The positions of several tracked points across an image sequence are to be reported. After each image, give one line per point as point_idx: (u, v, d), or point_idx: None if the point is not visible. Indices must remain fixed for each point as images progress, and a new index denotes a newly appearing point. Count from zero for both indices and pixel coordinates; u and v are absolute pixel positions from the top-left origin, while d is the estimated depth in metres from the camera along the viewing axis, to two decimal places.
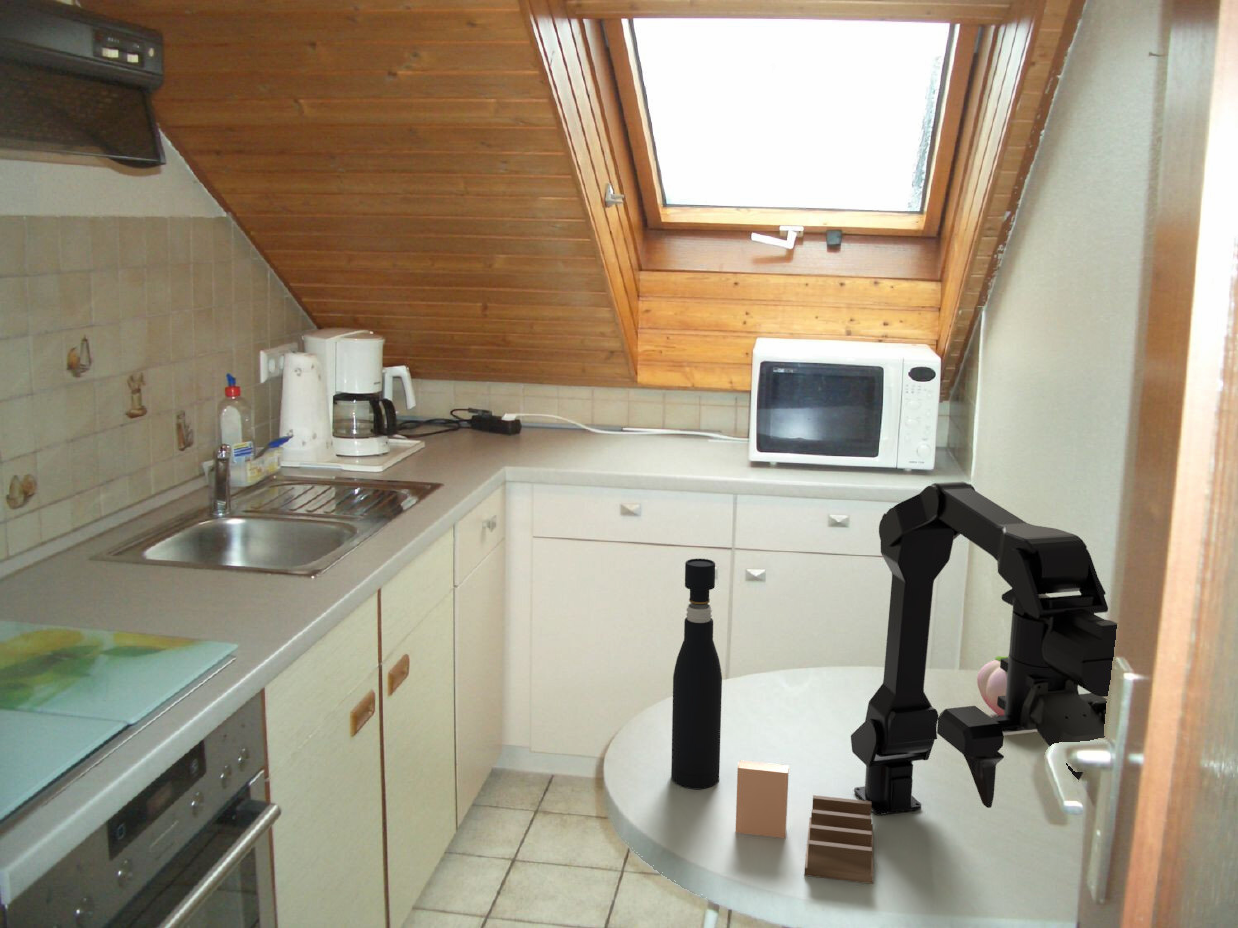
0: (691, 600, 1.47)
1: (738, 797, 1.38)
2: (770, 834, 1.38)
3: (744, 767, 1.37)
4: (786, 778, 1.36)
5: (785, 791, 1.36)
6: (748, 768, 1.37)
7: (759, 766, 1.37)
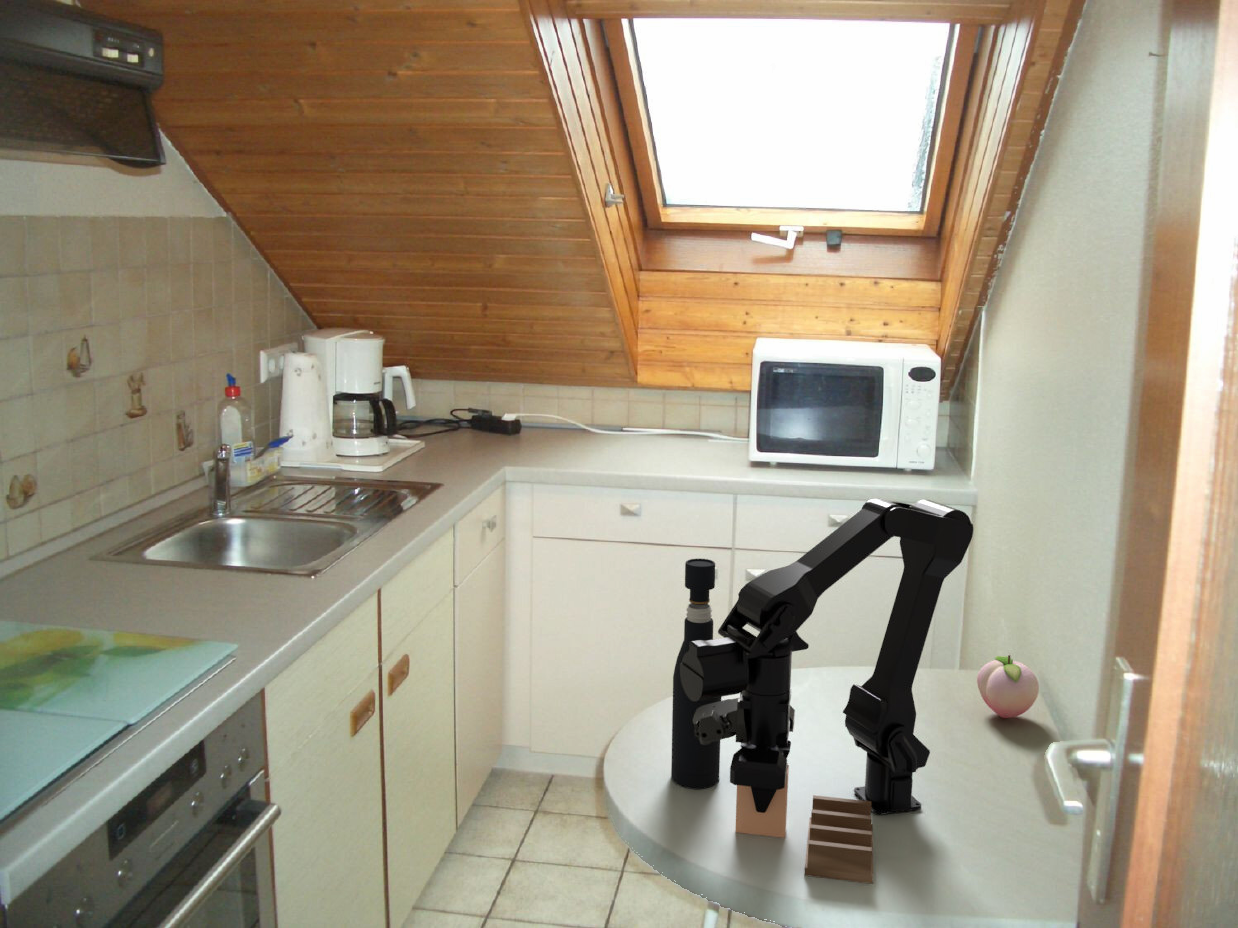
0: (691, 600, 1.47)
1: (738, 797, 1.38)
2: (770, 834, 1.38)
3: None
4: (786, 778, 1.36)
5: (785, 791, 1.36)
6: None
7: None
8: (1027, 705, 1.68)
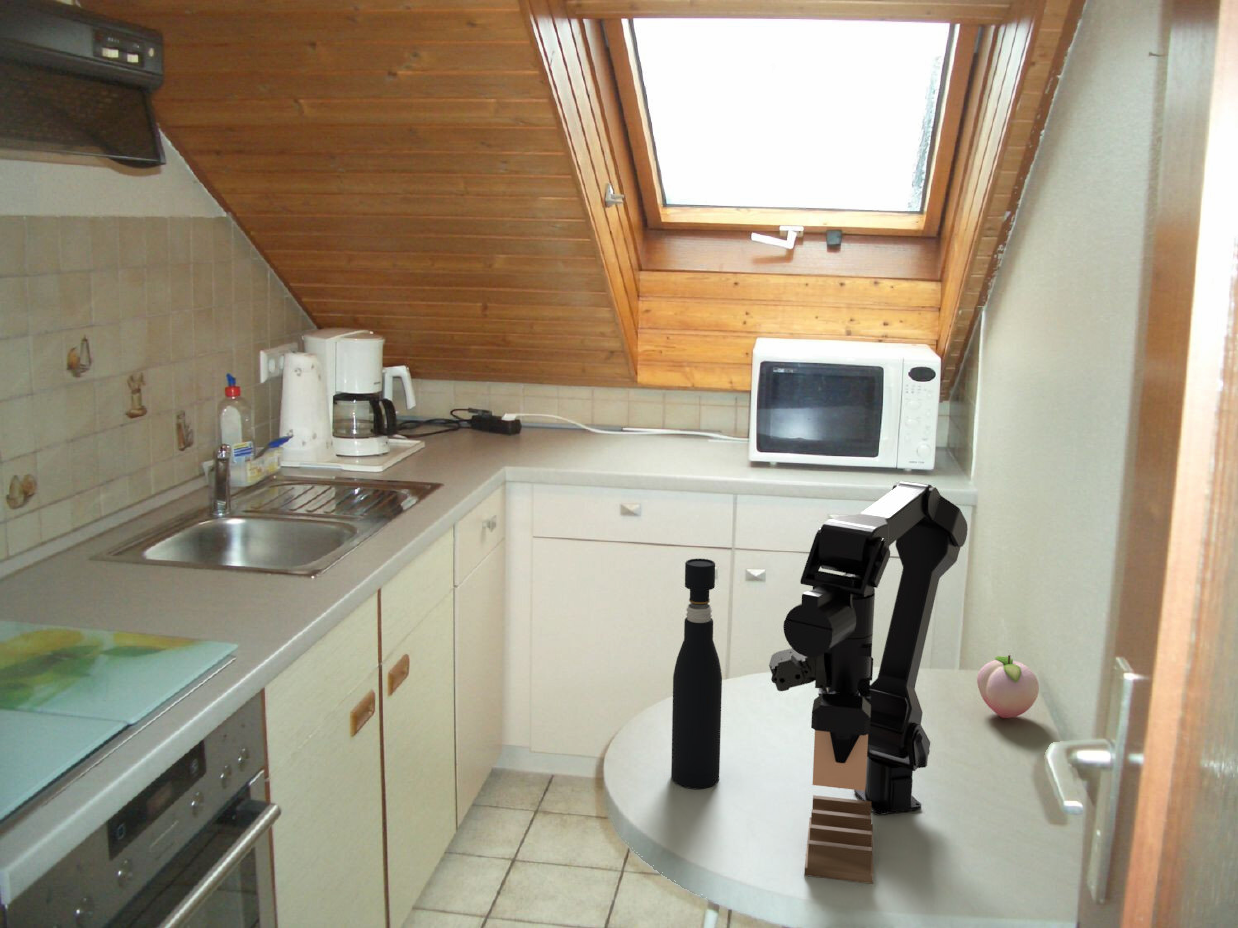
0: (691, 600, 1.47)
1: (816, 748, 1.31)
2: (849, 787, 1.31)
3: None
4: None
5: (866, 741, 1.30)
6: None
7: None
8: (1027, 705, 1.68)
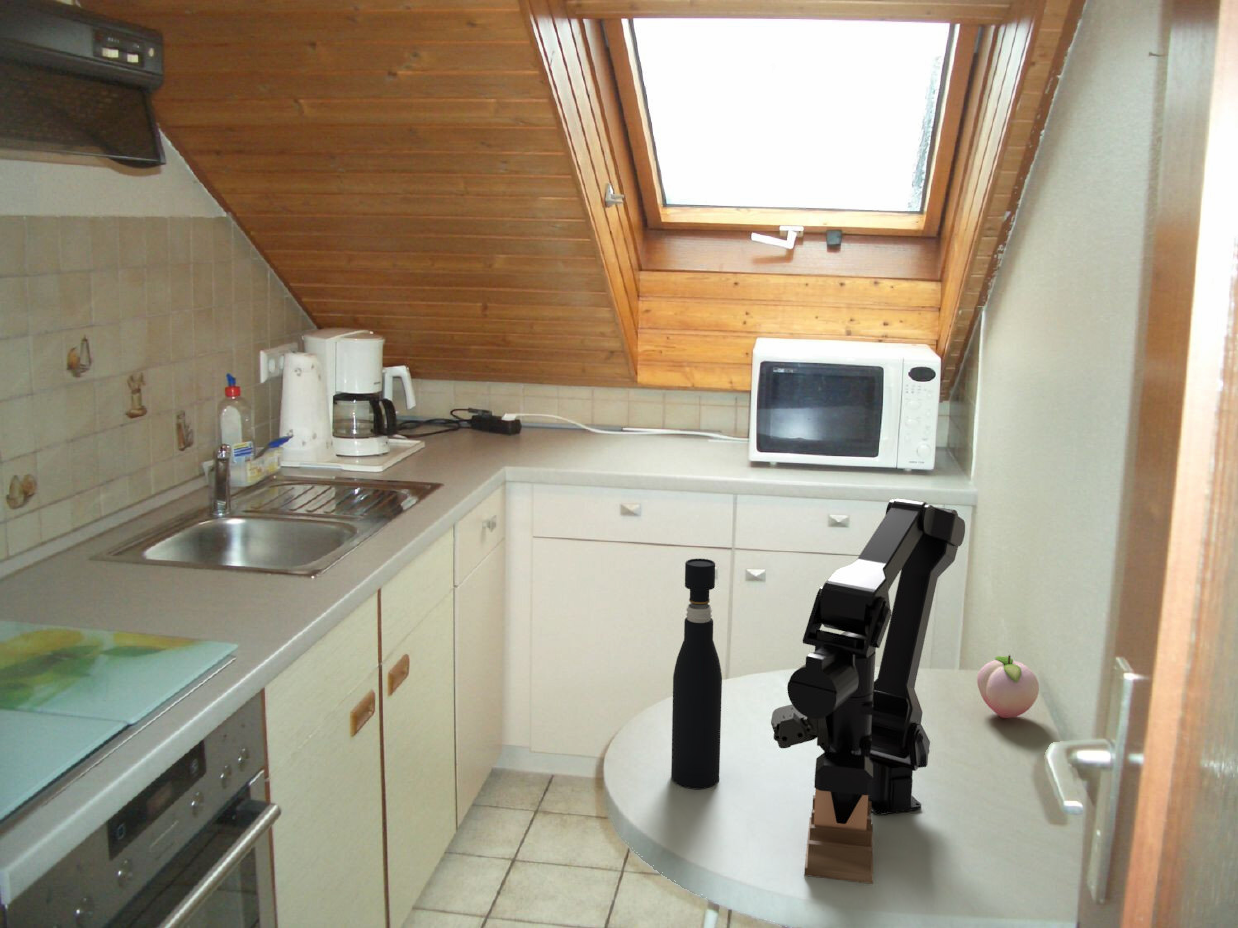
0: (691, 600, 1.47)
1: (816, 810, 1.33)
2: None
3: None
4: None
5: (866, 803, 1.31)
6: None
7: None
8: (1027, 705, 1.68)
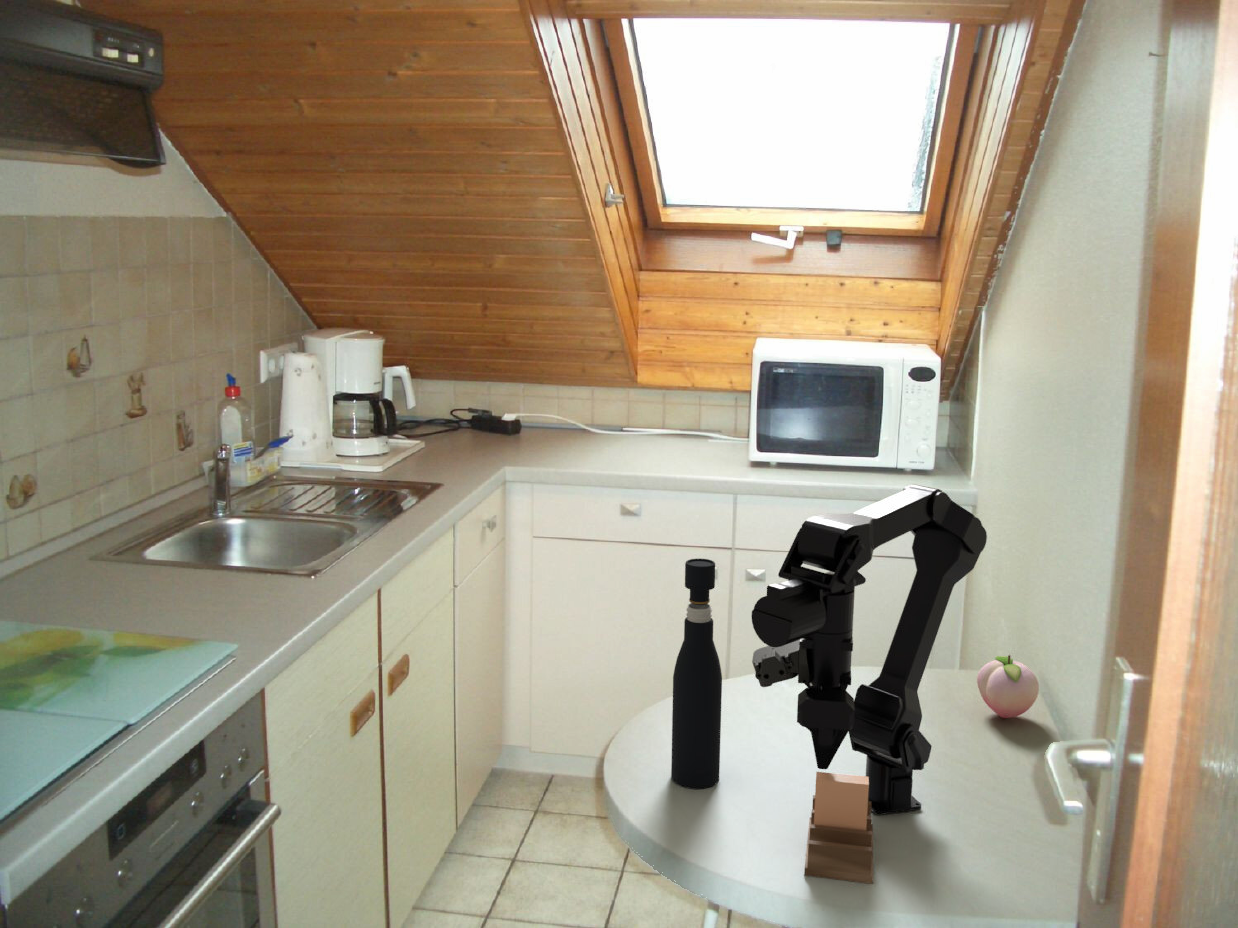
0: (691, 600, 1.47)
1: (816, 810, 1.33)
2: None
3: (823, 779, 1.32)
4: (867, 790, 1.31)
5: (866, 803, 1.31)
6: (827, 780, 1.32)
7: (838, 778, 1.32)
8: (1027, 705, 1.68)
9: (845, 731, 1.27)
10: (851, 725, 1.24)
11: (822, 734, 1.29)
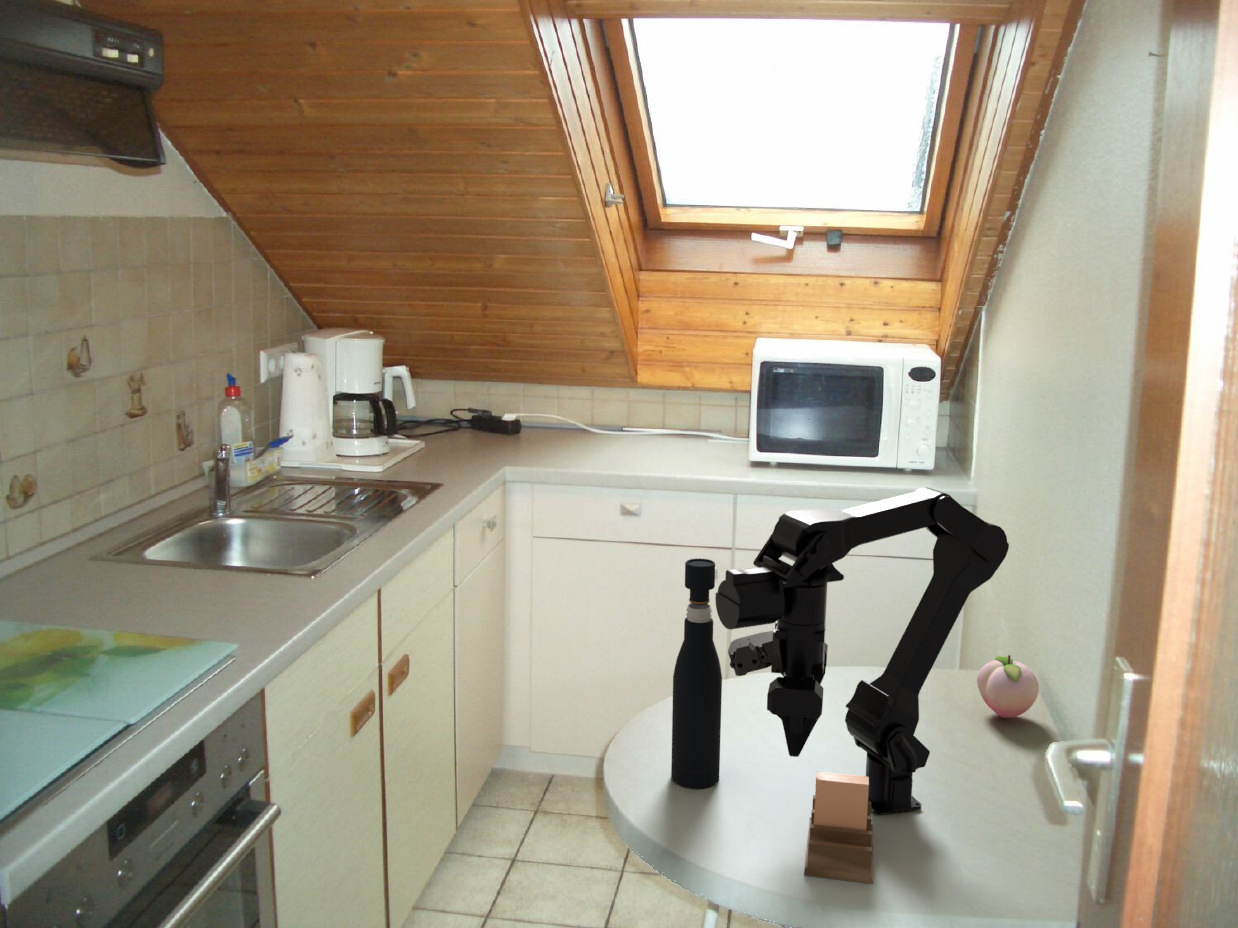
0: (691, 600, 1.47)
1: (816, 810, 1.33)
2: None
3: (823, 779, 1.32)
4: (867, 790, 1.31)
5: (866, 803, 1.31)
6: (827, 780, 1.32)
7: (838, 778, 1.32)
8: (1027, 705, 1.68)
9: (814, 719, 1.31)
10: (819, 713, 1.28)
11: (793, 722, 1.32)
